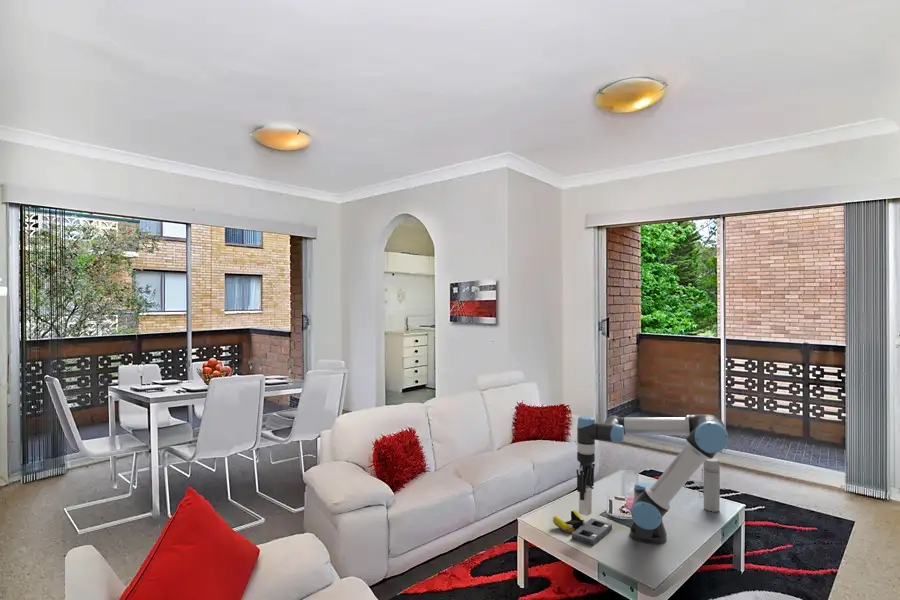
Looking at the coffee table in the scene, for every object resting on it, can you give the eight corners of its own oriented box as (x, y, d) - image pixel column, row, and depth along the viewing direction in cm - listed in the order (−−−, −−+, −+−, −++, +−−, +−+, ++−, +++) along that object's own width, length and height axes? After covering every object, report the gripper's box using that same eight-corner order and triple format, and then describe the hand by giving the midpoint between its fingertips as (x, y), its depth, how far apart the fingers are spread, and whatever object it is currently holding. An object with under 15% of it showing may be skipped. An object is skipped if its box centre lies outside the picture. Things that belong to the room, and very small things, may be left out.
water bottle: (720, 508, 262) (720, 458, 262) (718, 513, 256) (719, 462, 256) (700, 504, 267) (700, 455, 267) (698, 509, 261) (698, 459, 260)
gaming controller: (550, 527, 242) (566, 536, 233) (550, 516, 242) (566, 524, 233) (574, 520, 250) (590, 528, 241) (574, 508, 250) (590, 516, 241)
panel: (612, 529, 239) (612, 523, 239) (592, 545, 224) (592, 539, 224) (591, 523, 246) (591, 517, 246) (571, 538, 230) (571, 532, 230)
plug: (591, 512, 231) (591, 486, 230) (587, 515, 227) (587, 488, 227) (583, 510, 233) (583, 484, 233) (578, 513, 230) (579, 486, 230)
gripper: (586, 446, 239) (586, 497, 239) (568, 455, 226) (568, 508, 226) (602, 449, 234) (601, 501, 234) (585, 458, 221) (584, 513, 221)
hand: (585, 505), depth 230 cm, fingers closed on plug, 4 cm apart
